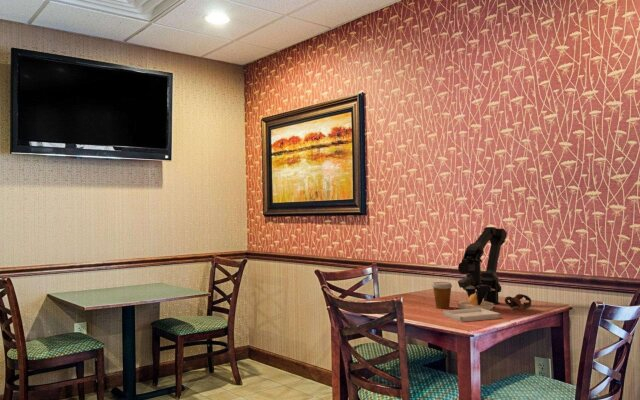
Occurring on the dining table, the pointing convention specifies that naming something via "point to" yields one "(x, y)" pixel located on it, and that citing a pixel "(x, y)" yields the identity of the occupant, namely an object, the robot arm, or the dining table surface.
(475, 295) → the ball
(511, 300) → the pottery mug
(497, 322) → the dining table surface
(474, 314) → the tray
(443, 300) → the disposable coffee cup
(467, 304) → the bowl
